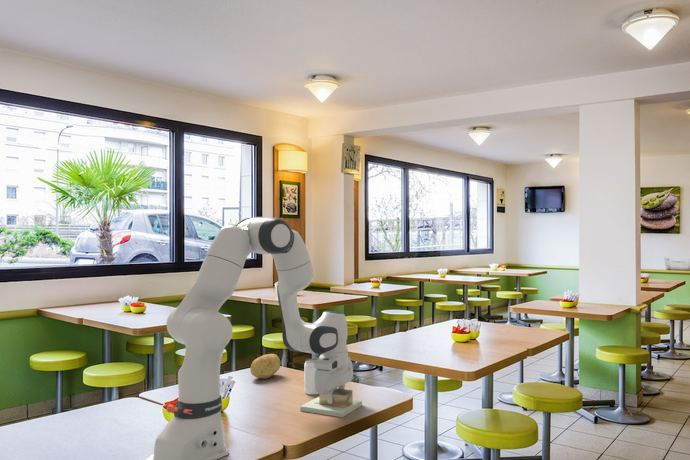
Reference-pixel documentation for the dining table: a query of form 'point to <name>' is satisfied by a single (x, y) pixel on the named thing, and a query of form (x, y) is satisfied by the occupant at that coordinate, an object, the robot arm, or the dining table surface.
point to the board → (329, 408)
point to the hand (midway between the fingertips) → (335, 400)
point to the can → (309, 377)
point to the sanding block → (338, 398)
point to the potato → (265, 366)
